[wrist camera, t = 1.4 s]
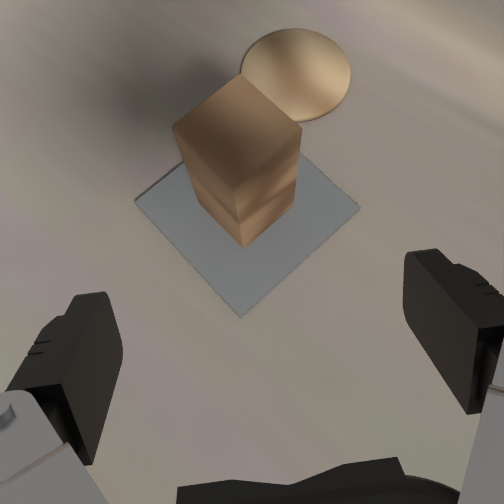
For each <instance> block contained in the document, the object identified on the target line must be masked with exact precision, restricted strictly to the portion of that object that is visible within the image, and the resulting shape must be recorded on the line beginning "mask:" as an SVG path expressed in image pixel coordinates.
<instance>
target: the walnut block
mask: <svg viewBox="0 0 504 504" xmlns="http://www.w3.org/2000/svg"><path fill="white" fill-rule="evenodd" d="M172 129H173V132H174V135H175V137H176V140H177V143H178V146H179V149H180V151H181V154H182V157H183V160H184V163H185V166H186V168H187V171H188V174H189V177H190V180H191V182H192V185H193V188H194V191H195V194H196V196H197V199H198V202H199V204H200V205H201V206H202V207H203V208H204V209H205V210H206V211H207V212H208V213H209V214H210V215H211V216H212V217H213V218H214V219H215V221H216V222H217V223H218V224H219V225H220V226H221V227H222V228H223V229H224V230H225V231H226V232H227V233H228V234H229V235H230V236H231V237H232V238H233V239H234V240H235V241H236V242H237V243H238V244H239V245H240V246H241V247H242V248H243V249H245V248H246V247H247V246H248V245H249V244H250V243H251V242H253V241H254V240H255V239H256V238H257V237H258V236H259V235H261V234H262V233H263V232H264V231H265V230H266V229H267V228H269V227H270V226H271V225H272V224H273V223H274V222H275V221H277V220H278V219H279V218H280V217H281V216H282V215H283V214H285V213H286V212H287V211H288V210H289V209H290V208H291V207H293V205H294V196H295V187H296V179H297V170H298V161H299V152H300V143H301V135H302V128H301V127H300V126H299V125H298V124H297V123H296V122H295V121H293V120H292V119H291V118H290V117H289V116H288V115H287V114H285V113H284V112H283V111H282V110H281V109H280V108H279V107H278V106H276V105H275V104H274V103H273V102H272V101H271V100H270V99H268V98H267V97H266V96H265V95H264V94H263V93H262V92H260V91H259V90H258V89H257V88H256V87H255V86H254V85H253V84H251V83H250V82H249V81H248V80H247V79H246V78H245V77H243V76H242V75H241V74H238V75H237V76H236V77H234V78H233V79H232V80H231V81H229V82H228V83H227V84H225V85H224V86H223V87H222V88H220V89H219V90H218V91H216V92H215V93H214V94H213V95H211V96H210V97H209V98H207V99H206V100H205V101H203V102H202V103H201V104H200V105H198V106H197V107H196V108H194V109H193V110H192V111H191V112H189V113H188V114H187V115H185V116H184V117H183V118H182V119H180V120H179V121H178V122H176V123H175V124H174V125H173V126H172Z"/></svg>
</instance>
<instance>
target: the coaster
mask: <svg viewBox="0 0 504 504" xmlns="http://www.w3.org/2000/svg"><path fill="white" fill-rule="evenodd" d="M241 75H242V76H243V77H245V78H246V79H247V80H248V81H249V82H250V83H251V84H253V85H254V86H255V87H256V88H257V89H258V90H259V91H260V92H262V93H263V94H264V95H265V96H266V97H267V98H268V99H270V100H271V101H272V102H273V103H274V104H275V105H276V106H278V107H279V108H280V109H281V110H282V111H283V112H284V113H285V114H287V115H288V116H289V117H290V118H291V119H292V120H293V121H295V122H306V121H311V120H315V119H318V118H320V117H322V116H324V115H326V114H328V113H329V112H331V111H332V110H334V109H335V108H336V107H337V106H338V105H339V104H340V103H341V101H342V100H343V98H344V97H345V95H346V93H347V90H348V87H349V83H350V76H351V71H350V65H349V61H348V59H347V57H346V55H345V53H344V52H343V50H342V49H341V48H340V47H339V46H338V45H337V44H336V43H335V42H334V41H333V40H331V39H330V38H328V37H326V36H324V35H322V34H320V33H317V32H314V31H310V30H304V29H288V30H282V31H278V32H275V33H272V34H270V35H268V36H266V37H264V38H262V39H261V40H259V41H258V42H257V43H256V44H255V45H254V46H253V47H252V48H251V49H250V50H249V52H248V53H247V55H246V57H245V59H244V61H243V65H242V70H241Z"/></svg>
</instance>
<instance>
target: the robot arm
mask: <svg viewBox="0 0 504 504" xmlns="http://www.w3.org/2000/svg"><path fill="white" fill-rule="evenodd" d="M403 310H404V315H405V319H406V321H407V323H408V325H409V327H410V328H411V330H412V331H413V333H414V335H415V336H416V338H417V339H418V341H419V342H420V344H421V345H422V347H423V348H424V350H425V351H426V353H427V354H428V356H429V357H430V359H431V361H432V362H433V364H434V365H435V367H436V368H437V370H438V371H439V373H440V374H441V376H442V377H443V379H444V380H445V382H446V383H447V385H448V387H449V388H450V390H451V391H452V393H453V394H454V396H455V397H456V399H457V400H458V402H459V403H460V405H461V406H462V408H463V410H464V411H465V413H466V414H467V415H470V414H477V413H481V417H480V421H479V425H478V428H477V432H476V436H475V440H474V443H473V447H472V451H471V455H470V459H469V462H468V466H467V470H466V474H465V477H464V481H463V485H462V489H461V492H459V491H457V490H455V489H453V488H451V487H449V486H446V485H444V484H442V483H439V482H436V481H432V480H429V479H426V478H421V477H416V476H411V475H405V474H404V472H403V469H402V467H401V465H400V462H399V460H398V458H397V457H392V458H385V459H377V460H370V461H363V462H356V463H349V464H343V465H340V466H338V467H335V468H333V469H330V470H328V471H325V472H323V473H320V474H317V475H315V476H312V477H310V478H307V479H305V480H302V481H300V482H297V483H294V484H290V485H281V484H271V483H261V482H251V481H241V480H225V481H218V482H211V483H204V484H196V485H189V486H182V487H178V489H177V500H176V504H504V296H503V295H502V294H499V291H497V290H496V289H495V288H494V287H493V286H492V285H489V282H488V281H487V280H486V279H484V278H483V277H482V276H481V275H480V274H479V273H478V272H476V271H474V270H472V269H470V268H468V267H466V266H463V265H461V264H453V263H452V262H451V261H450V260H449V259H447V258H446V257H445V256H444V255H443V254H442V253H441V252H440V251H439V250H438V249H436V248H435V249H427V250H419V251H412V252H407V253H406V255H405V260H404V282H403ZM122 359H123V347H122V341H121V337H120V333H119V330H118V327H117V323H116V320H115V316H114V313H113V310H112V306H111V303H110V299H109V297H108V295H107V293H106V292H104V291H103V292H96V293H88V294H81V295H76V296H74V298H73V300H72V301H71V303H70V305H69V307H68V309H67V311H66V313H65V314H64V315H62V316H57V317H55V318H54V319H53V320H52V321H51V322H50V323H48V324H47V325H46V326H45V327H44V328H43V329H42V330H41V332H40V333H39V335H38V337H37V338H36V340H35V342H34V345H32V347H31V348H30V350H29V352H28V356H26V357H25V359H24V360H23V362H22V364H21V365H20V367H19V369H18V371H17V372H16V374H15V376H14V377H13V379H12V381H11V382H10V384H9V386H8V387H7V389H6V391H5V392H3V393H0V504H109V503H108V502H107V500H106V499H105V497H104V496H103V494H102V493H101V491H100V490H99V488H98V487H97V485H96V484H95V482H94V481H93V479H92V478H91V476H90V474H89V473H88V471H87V470H86V468H85V467H84V466H87V465H93V461H94V458H95V454H96V451H97V447H98V444H99V440H100V437H101V433H102V430H103V426H104V423H105V420H106V416H107V413H108V409H109V406H110V402H111V399H112V395H113V392H114V388H115V385H116V381H117V378H118V374H119V371H120V367H121V364H122Z"/></svg>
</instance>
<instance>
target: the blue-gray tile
mask: <svg viewBox="0 0 504 504" xmlns="http://www.w3.org/2000/svg"><path fill="white" fill-rule="evenodd" d="M134 203H135V204H136V205H137V206H138V207H139V208H140V210H141V211H142V212H143V213H144V214H145V215H146V216H147V217H148V218H149V219H150V220H151V222H152V223H153V224H154V225H155V226H156V227H157V228H158V229H159V230H160V231H161V232H162V234H163V235H164V236H165V237H166V238H167V239H168V240H169V241H170V242H171V243H172V244H173V246H174V247H175V248H176V249H177V250H178V251H179V252H180V253H181V254H182V255H183V256H184V258H185V259H186V260H187V261H188V262H189V263H190V264H191V265H192V266H193V267H194V268H195V270H196V271H197V272H198V273H199V274H200V275H201V276H202V277H203V278H204V279H205V280H206V282H207V283H208V284H209V285H210V286H211V287H212V288H213V289H214V290H215V291H216V292H217V294H218V295H219V296H220V297H221V298H222V299H223V300H224V301H225V302H226V303H227V304H228V306H229V307H230V308H231V309H232V310H233V311H234V312H235V313H236V314H237V315H238V316H239V318H241V317H243V316H244V315H245V314H246V313H247V312H248V311H249V310H250V309H251V308H252V307H254V306H255V305H256V304H257V303H258V302H259V301H260V300H261V299H262V298H263V297H264V296H266V295H267V294H268V293H269V292H270V291H271V290H272V289H273V288H274V287H275V286H277V285H278V284H279V283H280V282H281V281H282V280H283V279H284V278H285V277H286V276H288V275H289V274H290V273H291V272H292V271H293V270H294V269H295V268H296V267H297V266H298V265H300V264H301V263H302V262H303V261H304V260H305V259H306V258H307V257H308V256H309V255H311V254H312V253H313V252H314V251H315V250H316V249H317V248H318V247H319V246H320V245H321V244H323V243H324V242H325V241H326V240H327V239H328V238H329V237H330V236H331V235H332V234H334V233H335V232H336V231H337V230H338V229H339V228H340V227H341V226H342V225H343V224H345V223H346V222H347V221H348V220H349V219H350V218H351V217H352V216H353V215H354V214H355V213H357V212H358V211H359V210H360V208H361V207H359V206H358V205H357V204H356V203H355V202H354V201H353V200H352V199H351V198H349V197H348V196H347V195H346V194H345V193H344V192H343V191H342V190H341V189H340V188H338V187H337V186H336V185H335V184H334V183H333V182H332V181H331V180H330V179H328V178H327V177H326V176H325V175H324V174H323V173H322V172H321V171H320V170H318V169H317V168H316V167H315V166H314V165H313V164H312V163H311V162H310V161H309V160H307V159H306V158H305V157H304V156H303V155H302V154H301V153H300V152H299V161H298V170H297V179H296V187H295V196H294V205H293V207H291V208H290V209H289V210H288V211H287V212H286V213H285V214H283V215H282V216H281V217H280V218H279V219H278V220H277V221H275V222H274V223H273V224H272V225H271V226H270V227H269V228H267V229H266V230H265V231H264V232H263V233H262V234H261V235H259V236H258V237H257V238H256V239H255V240H254V241H253V242H251V243H250V244H249V245H248V246H247V247H246V248H245V249H243V248H242V247H241V246H240V245H239V244H238V243H237V242H236V241H235V240H234V239H233V238H232V237H231V236H230V235H229V234H228V233H227V232H226V231H225V230H224V229H223V228H222V227H221V226H220V225H219V224H218V223H217V222H216V221H215V219H214V218H213V217H212V216H211V215H210V214H209V213H208V212H207V211H206V210H205V209H204V208H203V207H202V206H201V205H200V204H199V202H198V199H197V196H196V194H195V191H194V188H193V185H192V182H191V180H190V177H189V174H188V171H187V168H186V166H185V163H182V164H181V165H180V166H179V167H177V168H176V169H175V170H174V171H172V172H171V173H170V174H169V175H167V176H166V177H165V178H164V179H162V180H161V181H160V182H159V183H157V184H156V185H155V186H154V187H152V188H151V189H150V190H149V191H147V192H146V193H145V194H144V195H142V196H141V197H140V198H139V199H137V200H136V201H135V202H134Z"/></svg>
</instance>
